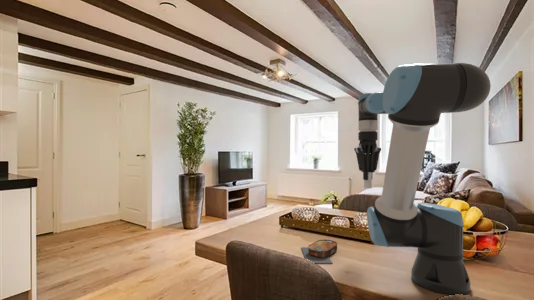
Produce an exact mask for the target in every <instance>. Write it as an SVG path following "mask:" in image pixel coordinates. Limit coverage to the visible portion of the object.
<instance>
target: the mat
mask: <svg viewBox="0 0 534 300" xmlns="http://www.w3.org/2000/svg"><path fill="white" fill-rule="evenodd" d="M300 248H301V252H302V254H303V257H304V259H308V260H310V261H312V262H314V263H316V264H315V265H333V261H332V260H331V258H330V256H328V257H324V258H320V257H316V256H312V255H310V254H309V252H308V246H307V247H305V246H304V247H300Z"/></svg>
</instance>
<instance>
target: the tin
mask: <svg viewBox="0 0 534 300" xmlns="http://www.w3.org/2000/svg"><path fill="white" fill-rule="evenodd" d="M307 247H308V252H309V254H310V255H312V256H316V257H320V258H324V257H328V256H329V257H330V256H331V255H333V254H334V253H335V252H337V250H338V242H337V241H334V240H331V239H318V240H316V241H314V242H312V243H311V244H309V245H308V246H307Z"/></svg>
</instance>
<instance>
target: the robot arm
mask: <svg viewBox="0 0 534 300" xmlns="http://www.w3.org/2000/svg"><path fill="white" fill-rule="evenodd" d="M491 86H492V85H491V80H490V77H489V76H488V74H487V73H486V72H485V71H484V70H483V69H482V68H481V67H479V66H476V65H474V64H471V63H467V62H466V63H465V62H454V63H452V62H451V63H450V62H449V63H448V62H446V63H413V64H404V65H403V64H401V65H399V66H396V67H395V68H394V69H393V70H392V71H391V72H390V73H389V75H388V77H387V79H386V81H385V84H384V87H383V91H376V92H365V93H362V94H359V95H358V102H357V104H358V131H359V132H357V133H358V134H357V135H358V136H357V137H358V141H359V144H358V146H356V147H354V152H355V154H356V160H357V165H358V170H359V171H360V172H361V173H363V174H362V177H363V178H362V179H363V187H364V188H365V189H372V188H373V187H372V183H373V174H374V173H375V172H376V171H377V169H378V163H379V157H380V153H381V151H382V148H381V147H378V145H377V141H378V138H379V137H378V128H379V127H378V123H379V122H378V119H379V118H378V115H388V116H387V118H388V120H389V121H390V123H392V129H391V136H390V144H389V148H388V154H387V155H388V156H387V160H386V167H385V173H384V178H383V179H384V180H383V186H382V192H381V196H379V197H377V199H375V202H374V203H375V204H374V206H370V207H368V208H367V209H366V220H367V221H366V222H367V227H368V232H369V236H370V239H371V242H372V243H373V244H375V245H376V246H378V247H385V248H390V247H391V248H417V254H416V257H415V260H414V261H413V264H412V267H411V274H410V275H411V279H412V281H413V282H414V283H415V284H417V285H418V286H420V287H422V288H425V289H427V290H429V291H433V292H437V293H440V294H446V295H453V294H459V295H466V294H468V293H469V292H471V280H470V278H469V274H468V271H467V268H466V266H465V263H464V220H463V219H464V218H463V214H462V213H461V211H460V210H457V209H456V208H454V207H449V206H445V205H441V204H436V203H429V202H419V203H417V205H416V204H415V203H414V202H415V198H416V194H417V189H418V185H419V180H420V175H421V171H422V167H423V162H424V158H425V154H426V153H425V152H426V150H427V149H426V148H427V144H428V140H429V135H430V131H431V129H432V128H433V127H435V126H437V125H438V124H439V123H440V117H441V114H451V113H461V112H467V111H471V110H473V109H476V108H477V107H480V105H482V104H483V103H484V102H485V101H486V100H487V98H488V97H489V95H490V92H491ZM375 245H374V246H375Z"/></svg>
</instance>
